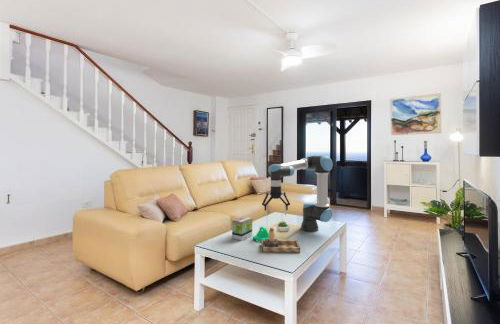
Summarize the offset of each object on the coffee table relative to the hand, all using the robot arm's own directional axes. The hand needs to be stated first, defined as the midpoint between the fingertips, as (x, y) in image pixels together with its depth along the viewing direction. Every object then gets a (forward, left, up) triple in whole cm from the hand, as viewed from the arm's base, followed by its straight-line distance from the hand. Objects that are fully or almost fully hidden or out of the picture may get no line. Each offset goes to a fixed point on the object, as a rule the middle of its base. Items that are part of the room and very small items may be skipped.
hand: (276, 214), depth 189 cm
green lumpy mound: (+10, -11, -23) cm, 28 cm away
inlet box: (-3, +6, -23) cm, 24 cm away
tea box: (+25, -17, -23) cm, 39 cm away
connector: (+3, +6, -22) cm, 23 cm away
